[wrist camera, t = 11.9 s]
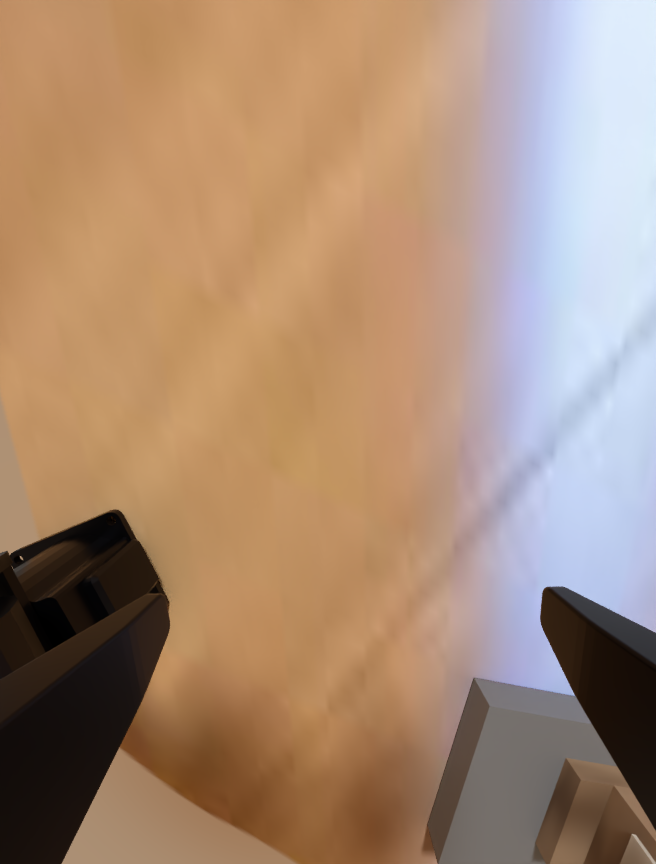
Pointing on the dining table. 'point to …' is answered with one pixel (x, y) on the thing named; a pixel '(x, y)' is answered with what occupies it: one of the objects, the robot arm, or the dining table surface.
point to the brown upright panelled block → (595, 819)
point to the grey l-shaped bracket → (507, 772)
